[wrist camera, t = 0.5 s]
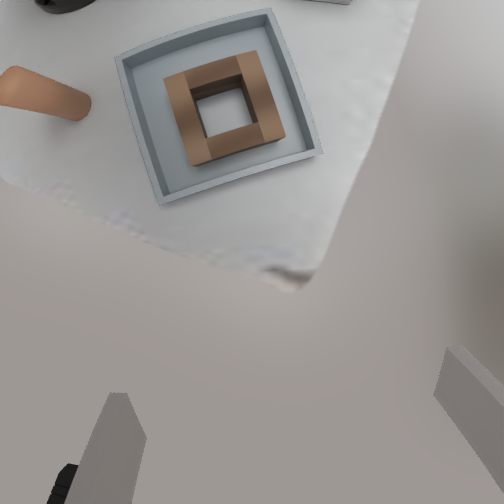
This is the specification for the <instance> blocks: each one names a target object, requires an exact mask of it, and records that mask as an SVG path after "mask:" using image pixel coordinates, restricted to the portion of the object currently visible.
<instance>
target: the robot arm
mask: <svg viewBox="0 0 504 504" xmlns="http://www.w3.org/2000/svg"><path fill="white" fill-rule="evenodd" d="M93 1H95V0H34V2H35V3H36V4H37V5H38V6H40V7H41V8H42V9H44V10H45V11H47V12H50V13H66V12H70V11H74V10H76V9H79V8H81V7H84V6H86V5H88V4H89V3H91V2H93ZM434 396H435V398H436V399H437V400H438V402H439V403H440V404H441V406H442V407H443V408H444V410H445V411H446V412H447V414H448V415H449V416H450V418H451V419H452V420H453V422H454V423H455V424H456V426H457V427H458V429H459V430H460V431H461V433H462V434H463V435H464V437H465V438H466V440H467V441H468V442H469V444H470V445H471V446H472V448H473V449H474V451H475V452H476V454H477V455H478V457H479V458H480V459H481V461H482V462H483V464H484V465H485V467H486V468H487V470H488V471H489V473H490V474H491V475H492V477H493V478H494V480H495V481H496V483H497V484H498V486H499V487H500V489H501V490H502V492H503V493H504V386H503V385H502V384H501V383H500V382H499V381H498V380H497V379H496V378H495V377H494V376H493V375H492V374H491V373H490V372H489V371H488V370H487V369H486V368H485V367H484V366H483V365H482V364H481V363H479V362H478V361H477V360H476V359H475V358H474V357H473V356H472V355H471V354H470V353H469V352H468V351H467V350H466V349H465V348H464V347H463V346H461V345H460V344H457V345H454V346H450V347H447V348H446V352H445V356H444V360H443V364H442V368H441V371H440V375H439V378H438V382H437V385H436V389H435V391H434ZM146 439H147V437H146V435H145V433H144V431H143V429H142V427H141V424H140V422H139V420H138V418H137V415H136V413H135V411H134V409H133V407H132V404H131V402H130V399H129V397H128V394H127V393H109V396H108V398H107V400H106V402H105V405H104V407H103V409H102V411H101V414H100V416H99V418H98V420H97V423H96V425H95V427H94V430H93V432H92V434H91V437H90V439H89V442H88V444H87V446H86V449H85V451H84V454H83V456H82V459H81V461H80V464H79V465H74V464H67V465H66V466H65V467H64V468H63V469H62V470H61V471H60V473H59V474H58V477H57V479H56V482H55V486H54V487H53V489H52V491H51V493H52V494H51V495H50V496H49V499H48V501H47V504H132V499H133V494H134V490H135V485H136V481H137V476H138V472H139V468H140V464H141V459H142V456H143V452H144V447H145V443H146Z"/></svg>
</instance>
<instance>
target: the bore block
mask: <svg viewBox="0 0 504 504" xmlns="http://www.w3.org/2000/svg"><path fill="white" fill-rule="evenodd" d="M163 81H164V84H165V87H166V90H167V94H168V97H169V100H170V103H171V106H172V110H173V113H174V116H175V119H176V122H177V125H178V129H179V132H180V135H181V138H182V141H183V144H184V147H185V150H186V153H187V156H188V159H189V162H190V165H191V166H200V165H203V164H206V163H209V162H212V161H215V160H218V159H221V158H224V157H227V156H231V155H234V154H237V153H240V152H243V151H246V150H250V149H253V148H256V147H260V146H263V145H267V144H270V143H273V142H277V141H279V140H281V139H283V138H285V137H286V134H285V131H284V128H283V125H282V122H281V119H280V116H279V113H278V110H277V107H276V104H275V101H274V98H273V95H272V92H271V89H270V86H269V84H268V81H267V78H266V75H265V72H264V70H263V67H262V64H261V61H260V59H259V56H258V53H257V50H253V51H249V52H245V53H242V54H238V55H234V56H230V57H227V58H223V59H220V60H216V61H213V62H210V63H207V64H204V65H200V66H197V67H194V68H191V69H188V70H185V71H183V72H180V73H177V74H174V75H172V76H169V77H166V78H164V79H163ZM239 87H241V90H242V93H243V96H244V98H245V101H246V104H247V107H248V110H249V113H250V116H251V119H252V122H253V124H250V125H246V126H243V127H240V128H236V129H233V130H230V131H227V132H224V133H221V134H217V135H214V136H211V137H208V136H207V133H206V130H205V127H204V124H203V121H202V118H201V115H200V112H199V109H198V106H197V103H196V101H198V100H201V99H204V98H207V97H210V96H213V95H216V94H219V93H223V92H226V91H229V90H233V89H236V88H239Z"/></svg>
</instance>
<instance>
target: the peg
mask: <svg viewBox="0 0 504 504" xmlns="http://www.w3.org/2000/svg"><path fill="white" fill-rule="evenodd" d="M0 105H3V106H8V107H14V108H19V109H24V110H29V111H34V112H39V113H44V114H49V115H53V116H58V117H62V118H66V119H71V120H75V121H76V120H81V119H83V118H84V117H85V116H86V115H87V114H88V113H89V111H90V108H91V99H90V97H89V96H88V95H87V94H85V93H83V92H81V91H78V90H76V89H74V88H71V87H69V86H67V85H64V84H62V83H60V82H57V81H55V80H52V79H50V78H47V77H45V76H42V75H40V74H37V73H35V72H32V71H30V70H27V69H24V68H22V67H19V66H12V67H10V68H8V69H7V70H6V71H5V72H4V73H3V74H2V75H1V77H0Z"/></svg>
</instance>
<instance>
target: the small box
mask: <svg viewBox="0 0 504 504" xmlns="http://www.w3.org/2000/svg"><path fill="white" fill-rule="evenodd" d="M314 1H324V2H332V3H340V4H347V5H349V3H350V2H351V1H352V0H314Z"/></svg>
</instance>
